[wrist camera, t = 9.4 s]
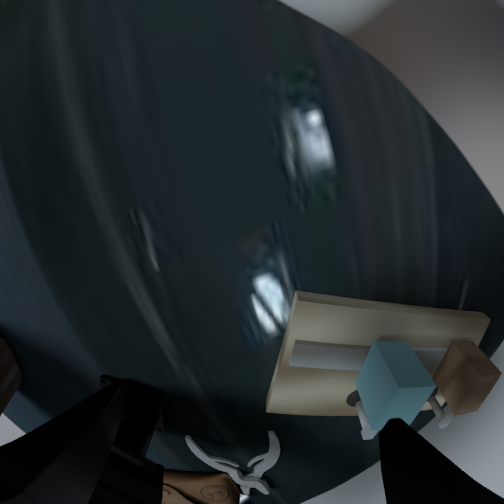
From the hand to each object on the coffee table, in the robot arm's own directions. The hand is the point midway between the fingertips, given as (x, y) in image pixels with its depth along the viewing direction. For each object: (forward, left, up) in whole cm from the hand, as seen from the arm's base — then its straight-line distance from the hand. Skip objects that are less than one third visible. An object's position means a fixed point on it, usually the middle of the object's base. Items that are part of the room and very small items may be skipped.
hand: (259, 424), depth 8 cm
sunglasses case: (-33, +7, -12) cm, 36 cm away
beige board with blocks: (-6, -12, -12) cm, 18 cm away
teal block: (-6, -10, -10) cm, 15 cm away
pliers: (-25, -2, -13) cm, 28 cm away
